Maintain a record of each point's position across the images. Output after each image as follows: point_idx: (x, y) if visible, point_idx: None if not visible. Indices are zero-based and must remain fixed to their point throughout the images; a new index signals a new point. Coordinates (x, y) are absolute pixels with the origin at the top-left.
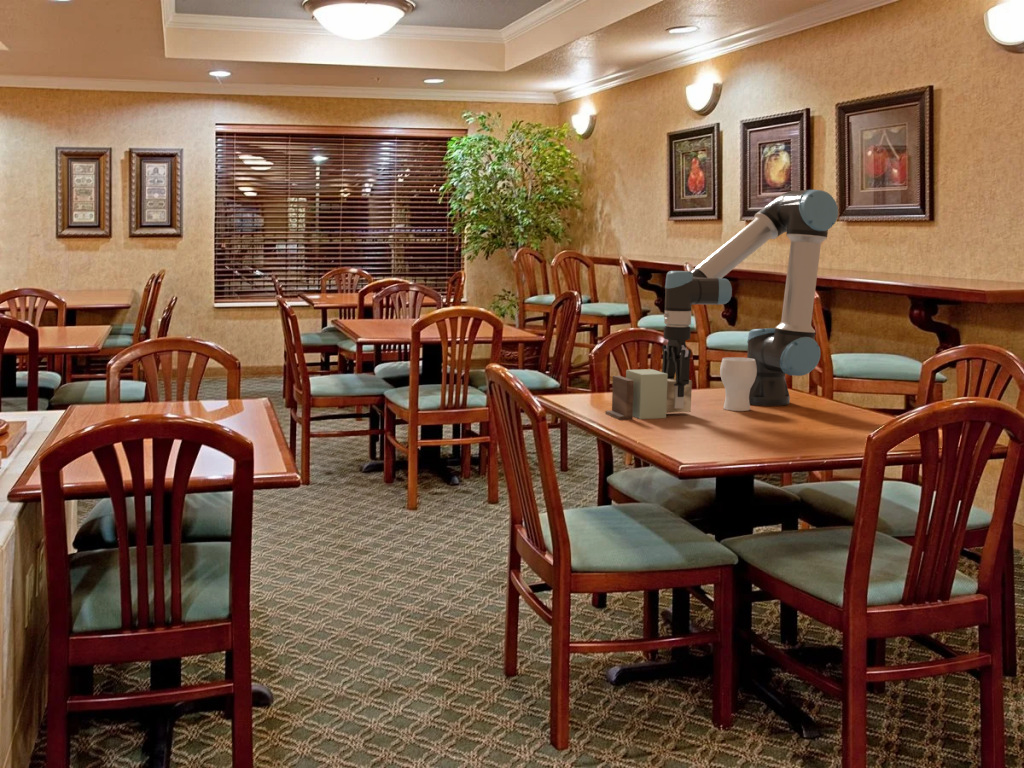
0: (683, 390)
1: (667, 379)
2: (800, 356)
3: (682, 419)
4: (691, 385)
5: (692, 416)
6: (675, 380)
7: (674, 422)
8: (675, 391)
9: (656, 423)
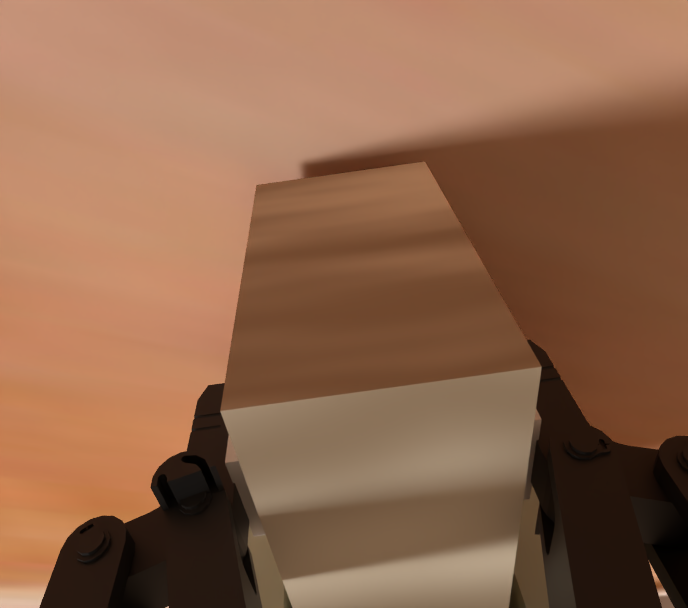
0: (567, 396)
1: (347, 588)
2: None
3: (564, 266)
4: (509, 316)
5: (462, 145)
6: (453, 539)
7: (642, 342)
8: None
9: (623, 431)
